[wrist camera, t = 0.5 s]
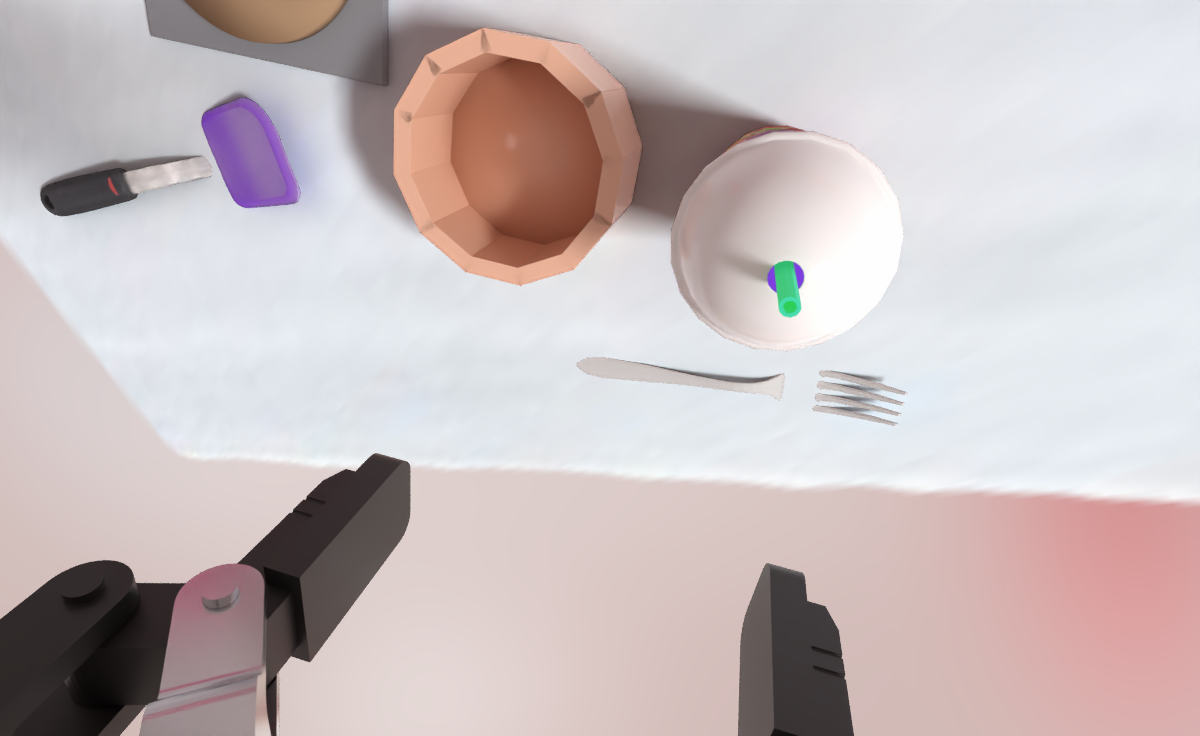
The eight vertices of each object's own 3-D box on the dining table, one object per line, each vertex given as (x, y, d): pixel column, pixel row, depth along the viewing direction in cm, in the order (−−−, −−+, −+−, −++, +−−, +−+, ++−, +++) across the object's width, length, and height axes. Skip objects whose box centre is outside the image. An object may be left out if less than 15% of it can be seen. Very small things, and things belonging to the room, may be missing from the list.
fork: (536, 337, 43) (528, 347, 42) (903, 374, 38) (909, 387, 37) (538, 377, 45) (530, 389, 43) (891, 418, 40) (897, 432, 38)
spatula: (76, 241, 49) (45, 249, 47) (29, 153, 46) (-7, 157, 44) (326, 195, 42) (303, 202, 40) (288, 89, 39) (260, 90, 37)
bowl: (448, 18, 35) (394, 9, 30) (659, 60, 33) (642, 59, 28) (439, 229, 41) (392, 253, 36) (618, 273, 39) (597, 305, 34)
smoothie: (720, 274, 38) (691, 453, 20) (680, 139, 35) (607, 212, 17) (863, 234, 35) (972, 401, 17) (832, 83, 32) (926, 104, 15)
